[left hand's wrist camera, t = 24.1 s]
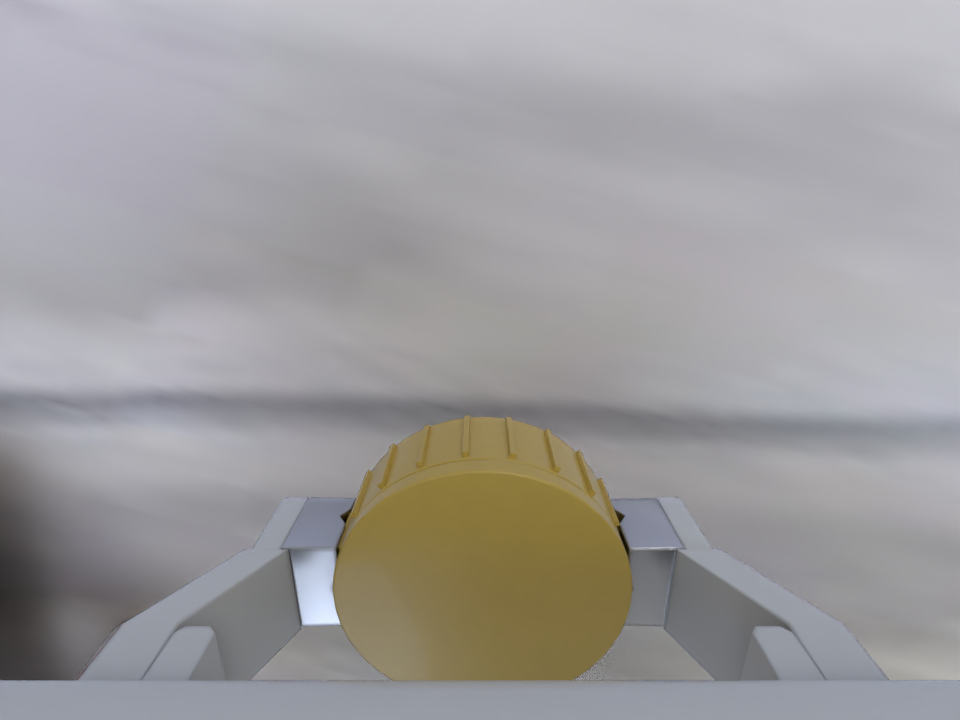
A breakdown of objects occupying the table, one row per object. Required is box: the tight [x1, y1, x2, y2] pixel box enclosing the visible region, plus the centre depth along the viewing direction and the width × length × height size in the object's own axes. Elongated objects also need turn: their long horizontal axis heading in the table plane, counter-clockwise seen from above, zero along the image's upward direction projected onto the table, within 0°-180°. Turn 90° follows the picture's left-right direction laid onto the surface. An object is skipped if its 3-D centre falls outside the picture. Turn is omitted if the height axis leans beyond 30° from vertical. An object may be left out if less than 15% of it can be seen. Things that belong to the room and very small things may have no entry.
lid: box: [333, 415, 633, 681], centre depth 10 cm, size 5×5×2 cm
